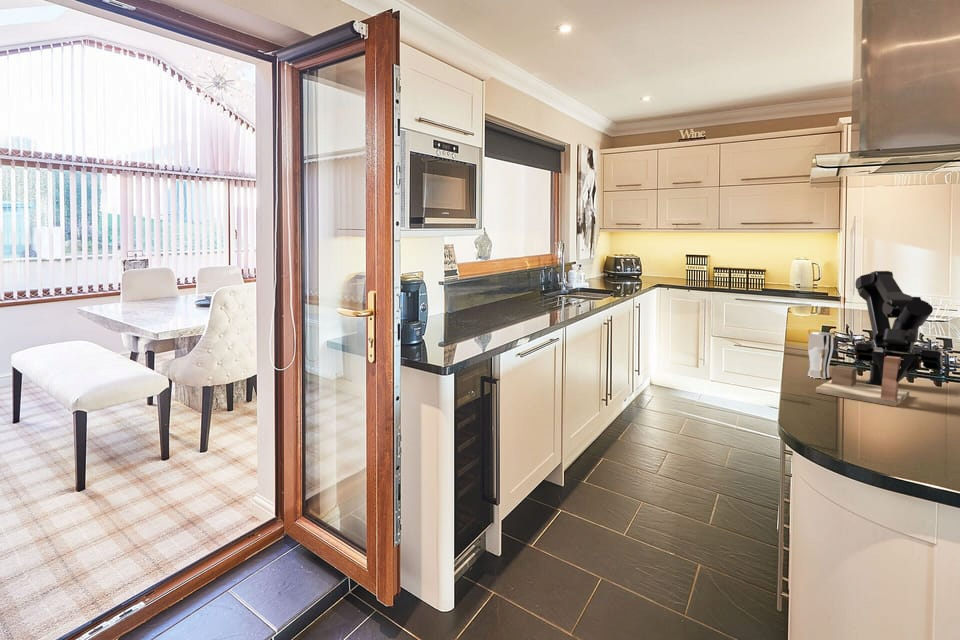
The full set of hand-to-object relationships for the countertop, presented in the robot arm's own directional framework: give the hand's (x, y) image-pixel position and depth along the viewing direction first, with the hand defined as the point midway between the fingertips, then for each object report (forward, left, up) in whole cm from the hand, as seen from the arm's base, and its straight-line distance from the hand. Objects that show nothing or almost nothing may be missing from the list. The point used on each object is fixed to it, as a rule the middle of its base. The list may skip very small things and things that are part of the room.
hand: (889, 380), depth 137 cm
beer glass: (-21, -23, -7) cm, 32 cm away
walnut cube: (-10, -13, -5) cm, 17 cm away
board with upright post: (-7, -7, -7) cm, 12 cm away
